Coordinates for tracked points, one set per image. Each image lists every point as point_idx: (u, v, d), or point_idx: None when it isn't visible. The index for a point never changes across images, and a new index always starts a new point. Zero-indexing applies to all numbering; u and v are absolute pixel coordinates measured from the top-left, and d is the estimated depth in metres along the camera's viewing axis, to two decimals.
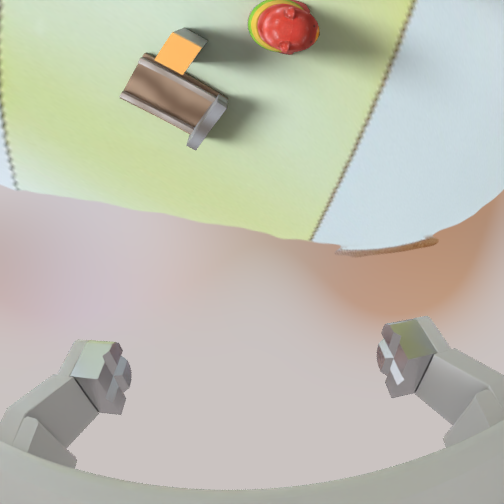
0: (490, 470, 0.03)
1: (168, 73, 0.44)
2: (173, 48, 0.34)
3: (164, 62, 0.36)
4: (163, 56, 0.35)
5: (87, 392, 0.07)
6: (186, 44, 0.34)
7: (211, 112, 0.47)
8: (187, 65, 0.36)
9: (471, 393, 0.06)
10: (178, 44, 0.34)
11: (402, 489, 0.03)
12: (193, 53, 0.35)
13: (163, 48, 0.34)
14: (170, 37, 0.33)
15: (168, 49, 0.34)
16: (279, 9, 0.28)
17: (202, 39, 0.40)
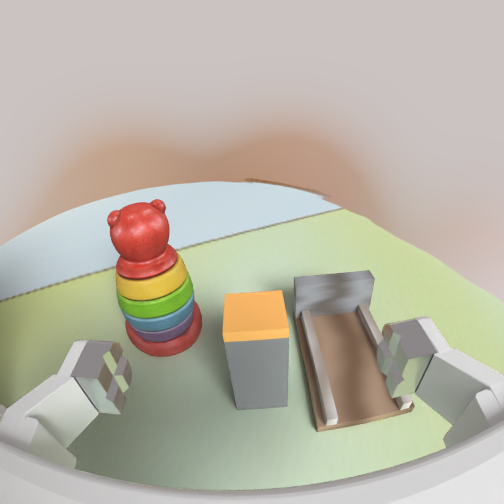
0: (490, 470, 0.03)
1: (318, 370, 0.29)
2: (249, 317, 0.24)
3: (282, 315, 0.24)
4: (272, 321, 0.23)
5: (87, 392, 0.07)
6: (231, 309, 0.25)
7: (313, 283, 0.36)
8: (263, 293, 0.26)
9: (470, 393, 0.06)
10: (238, 316, 0.24)
11: (402, 489, 0.03)
12: (240, 297, 0.26)
13: (258, 328, 0.22)
14: (232, 330, 0.22)
15: (255, 321, 0.23)
16: (117, 234, 0.28)
17: None
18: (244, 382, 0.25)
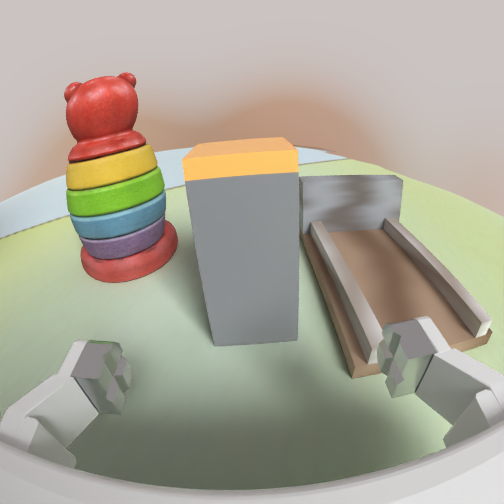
0: (490, 470, 0.03)
1: (344, 281, 0.19)
2: (230, 148, 0.14)
3: (284, 145, 0.14)
4: (269, 147, 0.13)
5: (87, 392, 0.07)
6: (203, 148, 0.15)
7: (325, 180, 0.26)
8: (254, 139, 0.17)
9: (470, 393, 0.06)
10: (212, 149, 0.14)
11: (402, 489, 0.03)
12: (219, 142, 0.16)
13: (245, 152, 0.13)
14: (200, 156, 0.13)
15: (239, 149, 0.13)
16: (71, 103, 0.19)
17: None
18: (224, 280, 0.15)
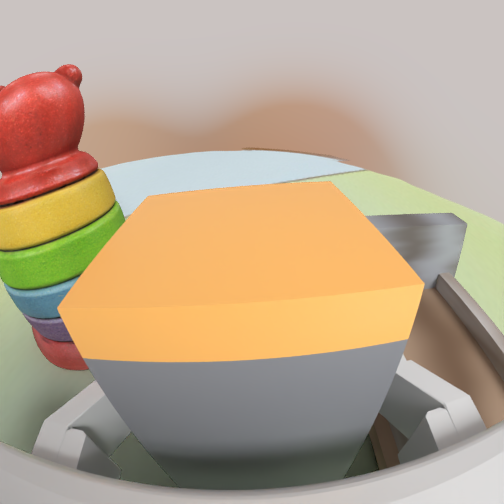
0: (490, 470, 0.03)
1: None
2: (207, 246, 0.05)
3: (362, 234, 0.05)
4: (326, 256, 0.04)
5: None
6: (145, 224, 0.06)
7: None
8: (270, 186, 0.08)
9: (425, 409, 0.06)
10: (159, 242, 0.05)
11: (402, 489, 0.03)
12: (191, 196, 0.07)
13: (252, 289, 0.04)
14: (106, 297, 0.04)
15: (234, 259, 0.04)
16: None
17: None
18: (211, 480, 0.06)
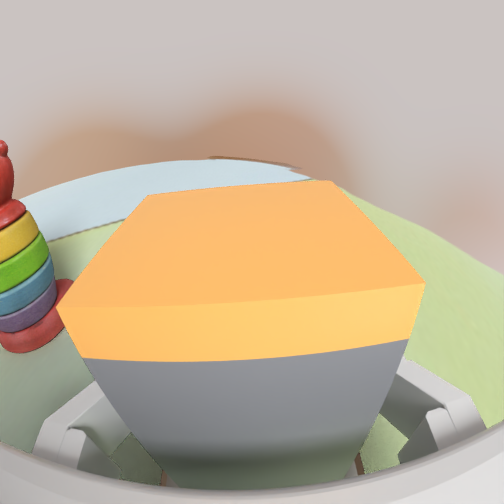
0: (490, 470, 0.03)
1: None
2: (207, 244, 0.05)
3: (362, 232, 0.05)
4: (326, 255, 0.04)
5: None
6: (145, 223, 0.06)
7: None
8: (270, 186, 0.08)
9: (425, 409, 0.06)
10: (159, 241, 0.05)
11: (402, 489, 0.03)
12: (191, 195, 0.07)
13: (252, 288, 0.04)
14: (105, 296, 0.04)
15: (234, 258, 0.04)
16: None
17: None
18: (211, 480, 0.06)
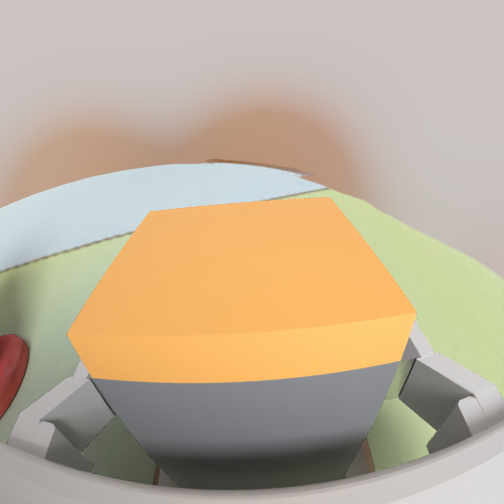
0: (490, 470, 0.03)
1: None
2: (209, 271, 0.05)
3: (359, 258, 0.05)
4: (323, 283, 0.05)
5: None
6: (148, 244, 0.06)
7: None
8: (270, 203, 0.08)
9: (454, 399, 0.06)
10: (163, 265, 0.05)
11: (402, 489, 0.03)
12: (192, 213, 0.08)
13: (253, 319, 0.04)
14: (114, 324, 0.04)
15: (235, 286, 0.05)
16: None
17: None
18: (213, 485, 0.07)
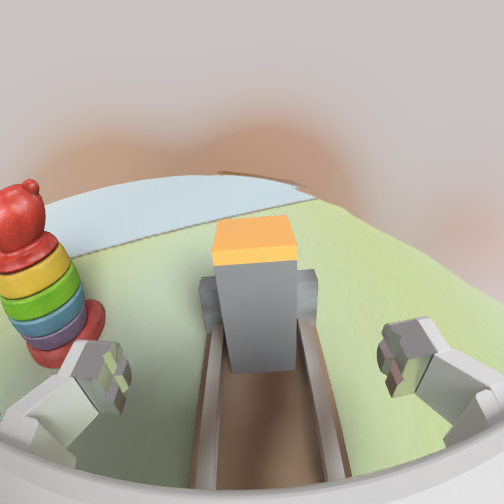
0: (490, 470, 0.03)
1: (205, 416, 0.18)
2: (246, 237, 0.19)
3: (287, 234, 0.19)
4: (275, 239, 0.19)
5: (87, 392, 0.07)
6: (224, 231, 0.20)
7: None
8: (264, 217, 0.22)
9: (471, 392, 0.06)
10: (232, 236, 0.19)
11: (402, 489, 0.03)
12: (236, 221, 0.22)
13: (258, 245, 0.18)
14: (225, 248, 0.18)
15: (253, 240, 0.19)
16: None
17: None
18: (241, 330, 0.21)
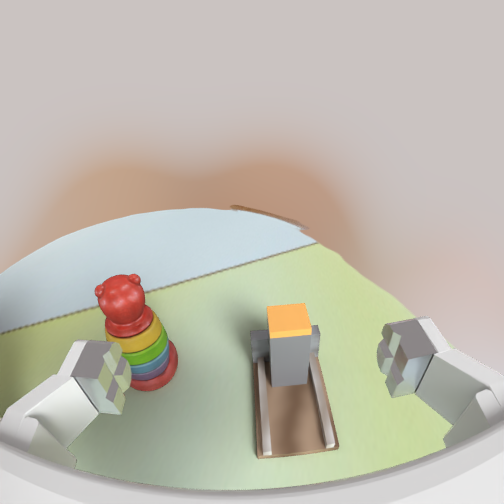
0: (490, 470, 0.03)
1: (262, 411, 0.35)
2: (285, 322, 0.36)
3: (306, 320, 0.36)
4: (300, 324, 0.36)
5: (87, 392, 0.07)
6: (272, 316, 0.37)
7: (265, 338, 0.42)
8: (292, 305, 0.39)
9: (470, 392, 0.06)
10: (278, 321, 0.36)
11: (402, 489, 0.03)
12: (277, 308, 0.39)
13: (292, 328, 0.35)
14: (276, 330, 0.35)
15: (289, 324, 0.36)
16: (103, 304, 0.35)
17: (269, 355, 0.42)
18: (280, 365, 0.38)
